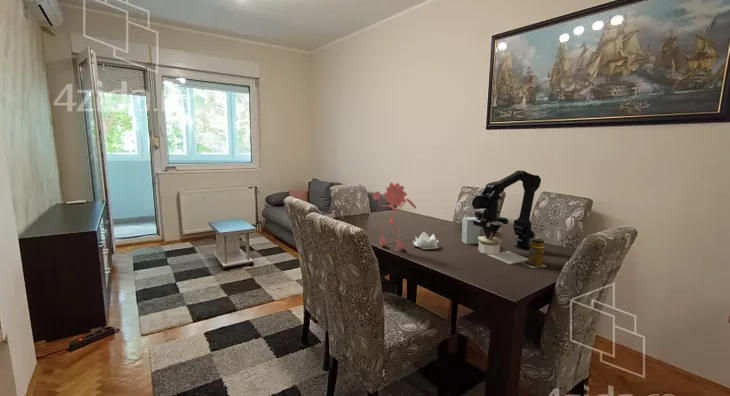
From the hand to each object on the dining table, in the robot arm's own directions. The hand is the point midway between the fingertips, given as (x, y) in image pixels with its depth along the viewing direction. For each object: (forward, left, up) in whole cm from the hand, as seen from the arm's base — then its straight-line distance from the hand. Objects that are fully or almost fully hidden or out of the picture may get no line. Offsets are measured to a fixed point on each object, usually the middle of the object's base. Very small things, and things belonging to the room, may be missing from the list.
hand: (489, 237), depth 172 cm
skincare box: (-2, -16, -8) cm, 18 cm away
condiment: (-5, +23, -8) cm, 25 cm away
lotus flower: (+27, -19, -8) cm, 33 cm away
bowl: (0, 0, -8) cm, 8 cm away
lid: (0, 0, -1) cm, 1 cm away
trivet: (-2, +11, -8) cm, 14 cm away
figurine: (+42, -24, -8) cm, 49 cm away
